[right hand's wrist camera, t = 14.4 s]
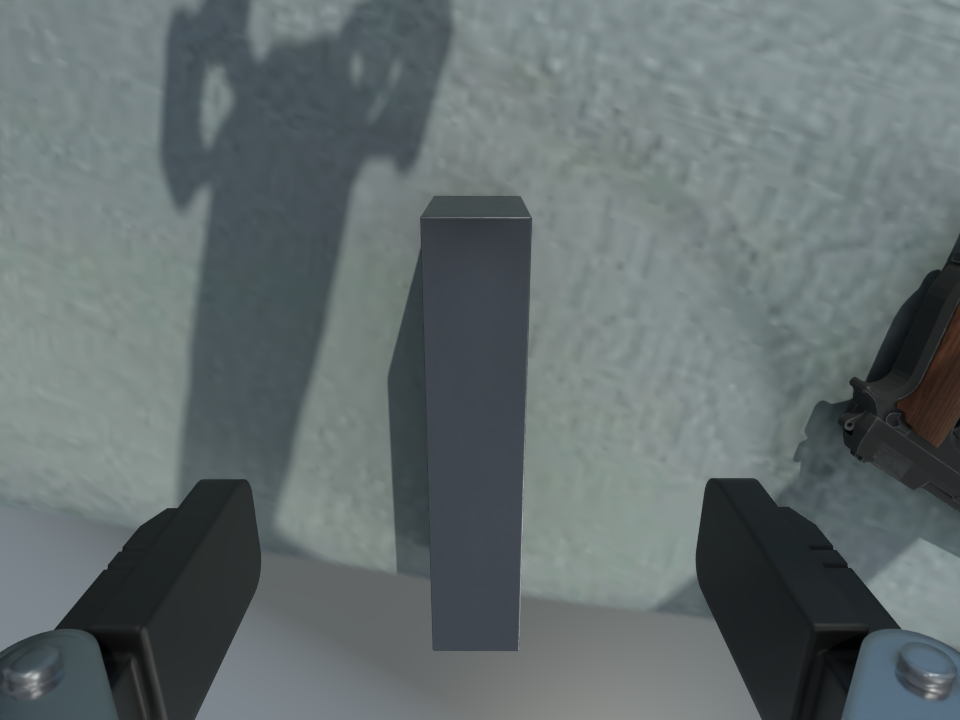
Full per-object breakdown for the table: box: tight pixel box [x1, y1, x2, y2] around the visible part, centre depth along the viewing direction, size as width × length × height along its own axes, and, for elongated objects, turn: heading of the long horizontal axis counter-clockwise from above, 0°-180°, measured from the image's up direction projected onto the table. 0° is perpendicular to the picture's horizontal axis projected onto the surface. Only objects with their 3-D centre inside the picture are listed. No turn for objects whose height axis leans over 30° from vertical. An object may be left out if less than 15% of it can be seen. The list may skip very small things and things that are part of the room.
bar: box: [420, 196, 532, 651], centre depth 36 cm, size 24×5×8 cm, turn 0°
